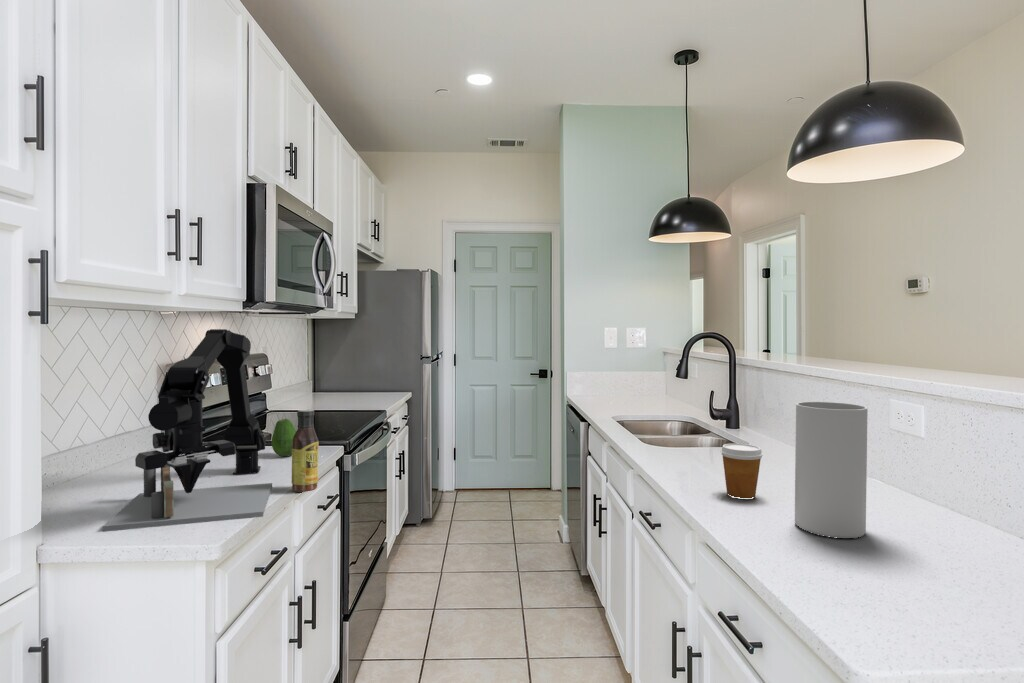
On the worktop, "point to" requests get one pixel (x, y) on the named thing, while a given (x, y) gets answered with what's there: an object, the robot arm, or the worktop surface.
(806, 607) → the worktop surface
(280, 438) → the avocado
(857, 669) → the worktop surface
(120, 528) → the gate frame
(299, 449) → the sauce bottle
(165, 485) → the gate
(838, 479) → the cylinder vase
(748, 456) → the disposable coffee cup
